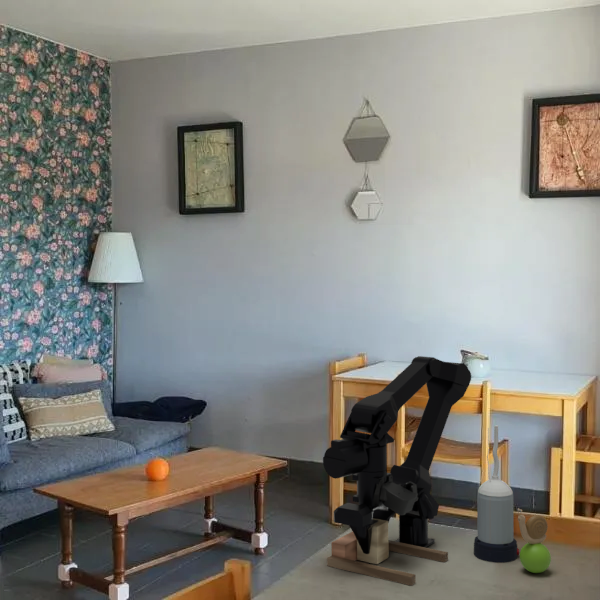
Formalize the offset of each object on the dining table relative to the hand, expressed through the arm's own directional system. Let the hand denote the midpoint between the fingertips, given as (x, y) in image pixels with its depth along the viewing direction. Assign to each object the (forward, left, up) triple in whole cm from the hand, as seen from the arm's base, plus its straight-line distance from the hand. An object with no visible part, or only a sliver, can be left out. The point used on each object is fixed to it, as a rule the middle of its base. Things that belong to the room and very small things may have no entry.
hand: (372, 550), depth 153 cm
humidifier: (-15, +19, -2) cm, 24 cm away
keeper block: (0, 0, -2) cm, 2 cm away
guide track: (0, +3, -2) cm, 4 cm away
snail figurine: (-10, +28, -2) cm, 29 cm away
